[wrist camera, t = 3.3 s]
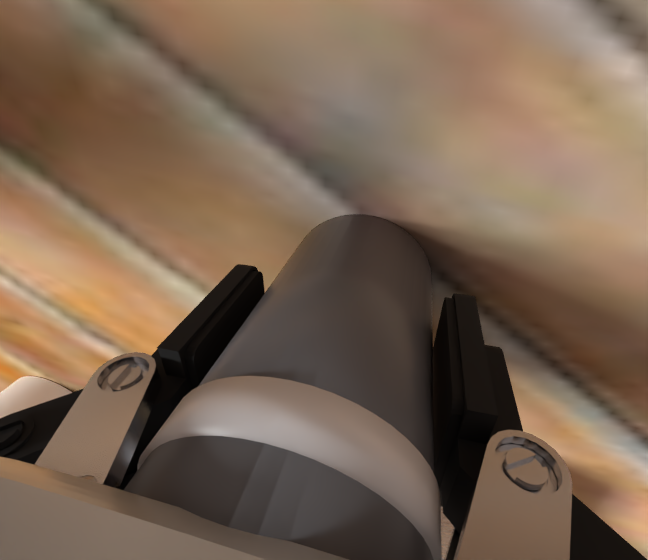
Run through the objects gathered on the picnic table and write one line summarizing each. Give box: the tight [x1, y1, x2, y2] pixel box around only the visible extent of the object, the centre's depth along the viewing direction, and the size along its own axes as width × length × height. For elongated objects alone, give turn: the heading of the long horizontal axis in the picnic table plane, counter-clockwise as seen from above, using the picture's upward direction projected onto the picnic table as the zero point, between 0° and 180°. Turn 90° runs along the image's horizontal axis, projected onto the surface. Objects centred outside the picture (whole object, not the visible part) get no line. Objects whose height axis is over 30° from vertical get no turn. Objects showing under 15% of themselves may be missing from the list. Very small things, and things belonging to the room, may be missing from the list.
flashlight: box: [123, 214, 442, 560], centre depth 8 cm, size 5×5×10 cm
